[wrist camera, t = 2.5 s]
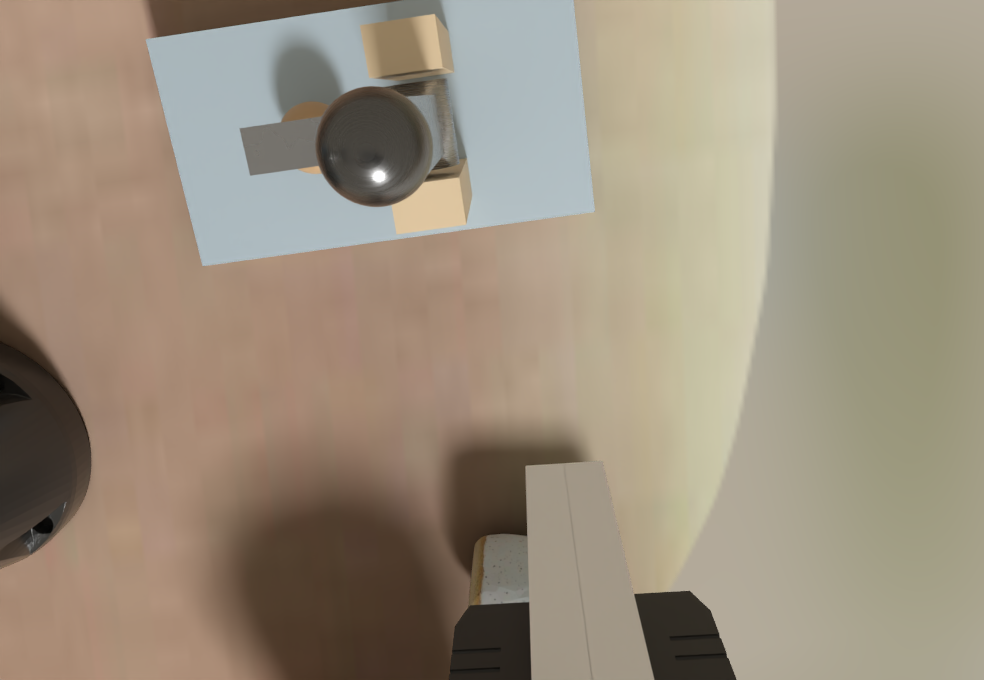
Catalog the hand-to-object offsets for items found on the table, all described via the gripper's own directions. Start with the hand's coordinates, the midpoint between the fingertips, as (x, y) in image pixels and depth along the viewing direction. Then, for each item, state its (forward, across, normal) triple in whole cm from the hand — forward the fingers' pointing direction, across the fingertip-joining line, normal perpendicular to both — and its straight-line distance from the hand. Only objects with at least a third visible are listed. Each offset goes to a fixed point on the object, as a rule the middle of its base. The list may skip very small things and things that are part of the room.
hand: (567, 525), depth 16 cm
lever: (+23, -8, +7) cm, 25 cm away
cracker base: (+32, -8, +7) cm, 33 cm away
